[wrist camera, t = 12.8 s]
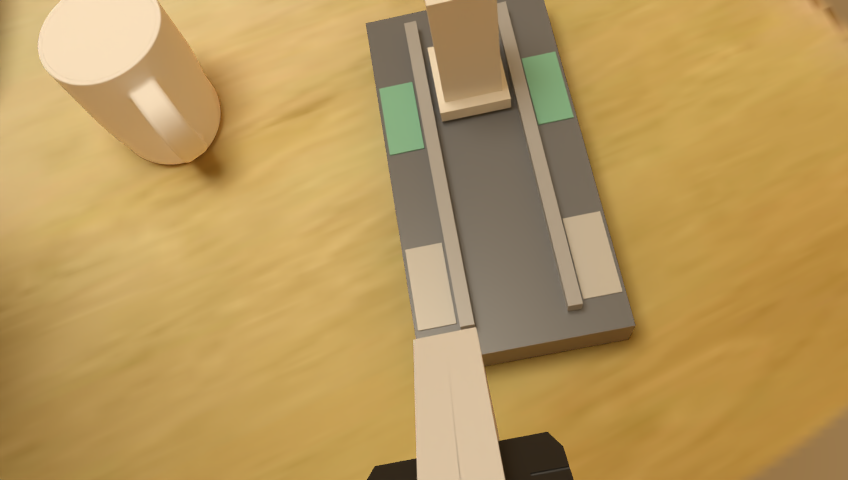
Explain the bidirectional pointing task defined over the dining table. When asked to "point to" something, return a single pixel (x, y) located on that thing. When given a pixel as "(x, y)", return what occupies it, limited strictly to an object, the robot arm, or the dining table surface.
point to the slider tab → (466, 57)
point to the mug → (132, 75)
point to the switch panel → (498, 198)
